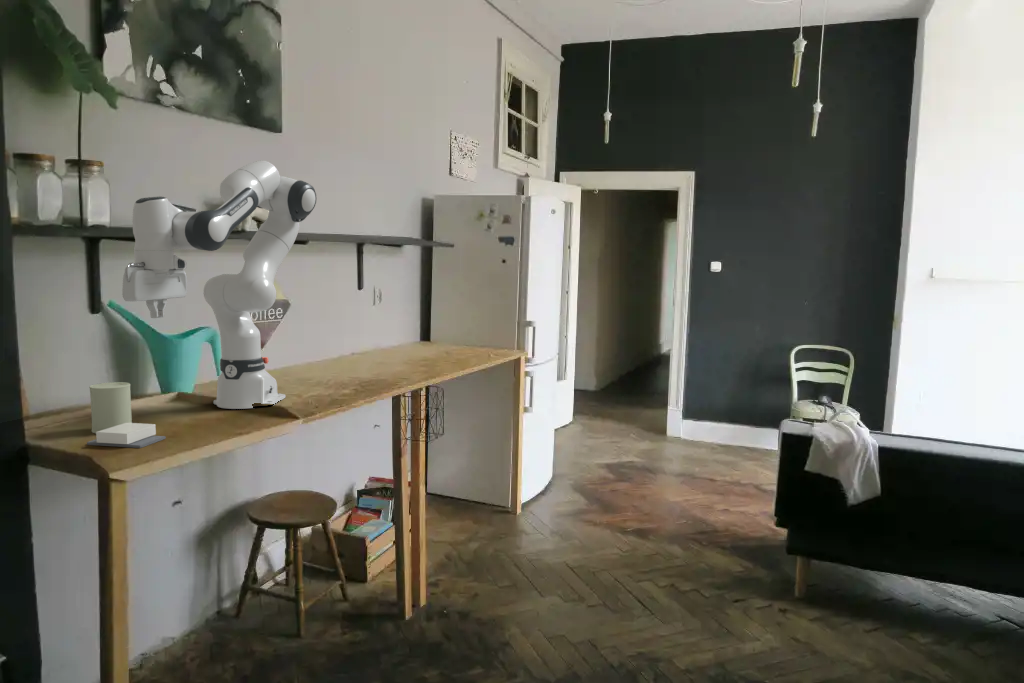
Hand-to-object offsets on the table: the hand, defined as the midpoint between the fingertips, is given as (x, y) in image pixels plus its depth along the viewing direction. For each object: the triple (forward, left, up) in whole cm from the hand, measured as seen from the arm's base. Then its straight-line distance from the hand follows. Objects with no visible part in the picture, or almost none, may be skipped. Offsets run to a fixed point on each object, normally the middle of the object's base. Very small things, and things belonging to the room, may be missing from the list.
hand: (157, 317), depth 182 cm
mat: (+13, 0, -29) cm, 31 cm away
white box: (+8, 0, -27) cm, 28 cm away
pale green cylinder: (+3, -12, -29) cm, 31 cm away
